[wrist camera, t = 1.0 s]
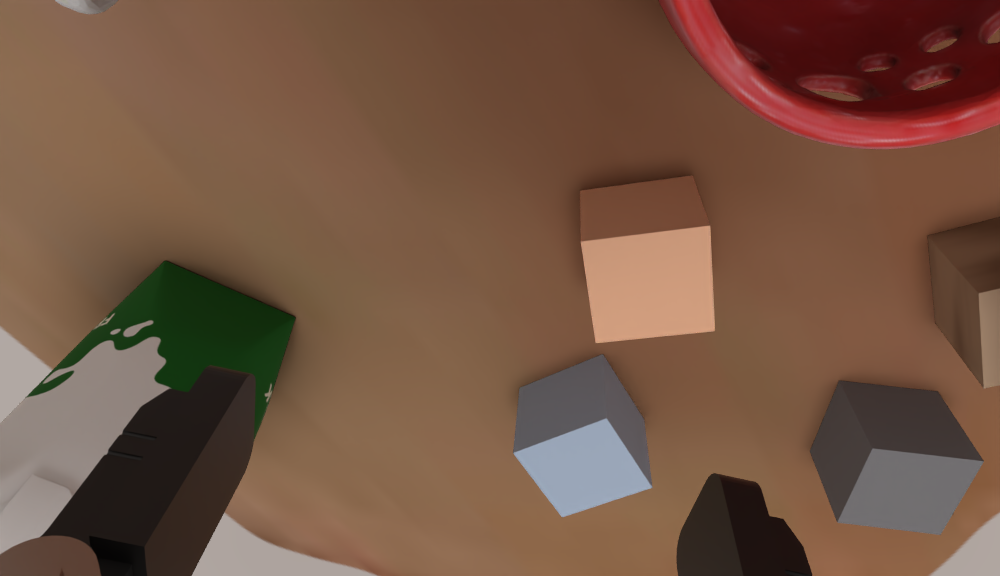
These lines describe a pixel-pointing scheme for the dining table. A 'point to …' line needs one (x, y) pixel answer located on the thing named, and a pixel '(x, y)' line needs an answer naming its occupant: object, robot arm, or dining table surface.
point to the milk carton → (127, 386)
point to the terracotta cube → (647, 259)
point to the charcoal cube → (893, 457)
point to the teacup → (88, 5)
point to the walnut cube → (969, 294)
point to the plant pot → (851, 65)
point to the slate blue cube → (582, 437)
